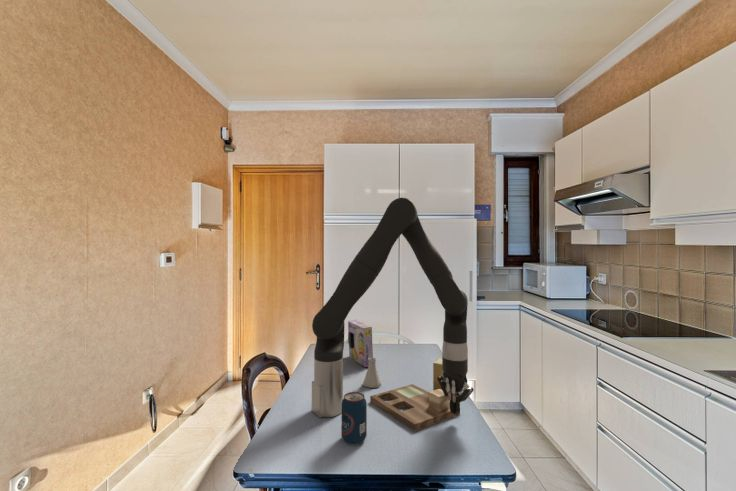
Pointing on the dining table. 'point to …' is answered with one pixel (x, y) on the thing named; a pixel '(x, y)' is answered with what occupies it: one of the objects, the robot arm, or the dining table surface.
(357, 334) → the cake pan box
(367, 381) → the flask
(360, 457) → the dining table surface
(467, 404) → the dining table surface
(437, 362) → the skincare box
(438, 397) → the birch block
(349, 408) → the soda can
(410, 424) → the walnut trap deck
